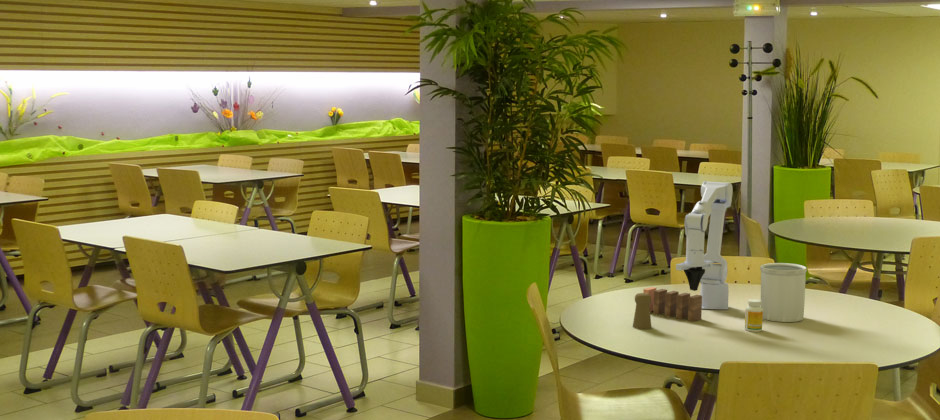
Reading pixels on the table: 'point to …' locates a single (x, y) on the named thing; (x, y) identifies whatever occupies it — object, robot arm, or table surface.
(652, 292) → the domino
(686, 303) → the domino
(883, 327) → the table surface
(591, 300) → the table surface
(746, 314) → the supplement bottle
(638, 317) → the cork
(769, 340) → the table surface
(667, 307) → the domino
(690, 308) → the domino
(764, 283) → the utensil holder
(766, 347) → the table surface
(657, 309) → the domino
